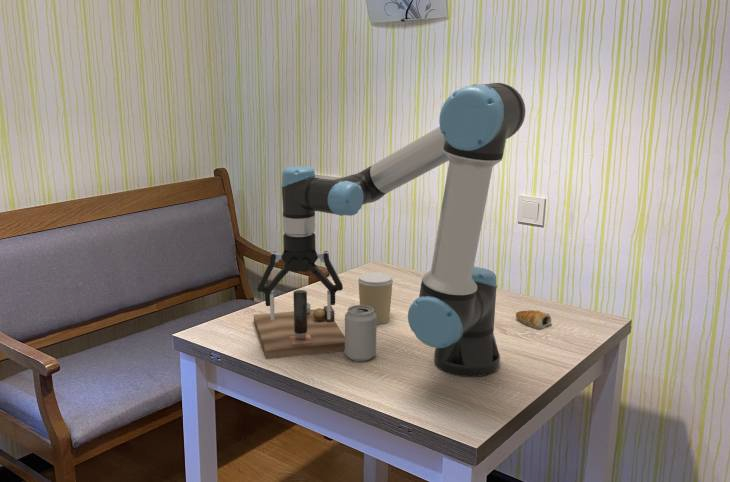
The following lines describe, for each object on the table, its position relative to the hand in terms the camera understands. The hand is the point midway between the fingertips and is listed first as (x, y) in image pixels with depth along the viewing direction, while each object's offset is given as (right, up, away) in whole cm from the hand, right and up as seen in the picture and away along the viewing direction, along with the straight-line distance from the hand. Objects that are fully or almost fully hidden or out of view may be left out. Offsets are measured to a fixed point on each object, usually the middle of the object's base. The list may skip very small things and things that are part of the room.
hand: (300, 317), depth 172 cm
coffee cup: (+18, -3, +21) cm, 28 cm away
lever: (-1, -3, +10) cm, 11 cm away
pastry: (+61, -4, +19) cm, 64 cm away
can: (+14, -9, -2) cm, 17 cm away
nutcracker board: (-1, -5, +9) cm, 11 cm away
